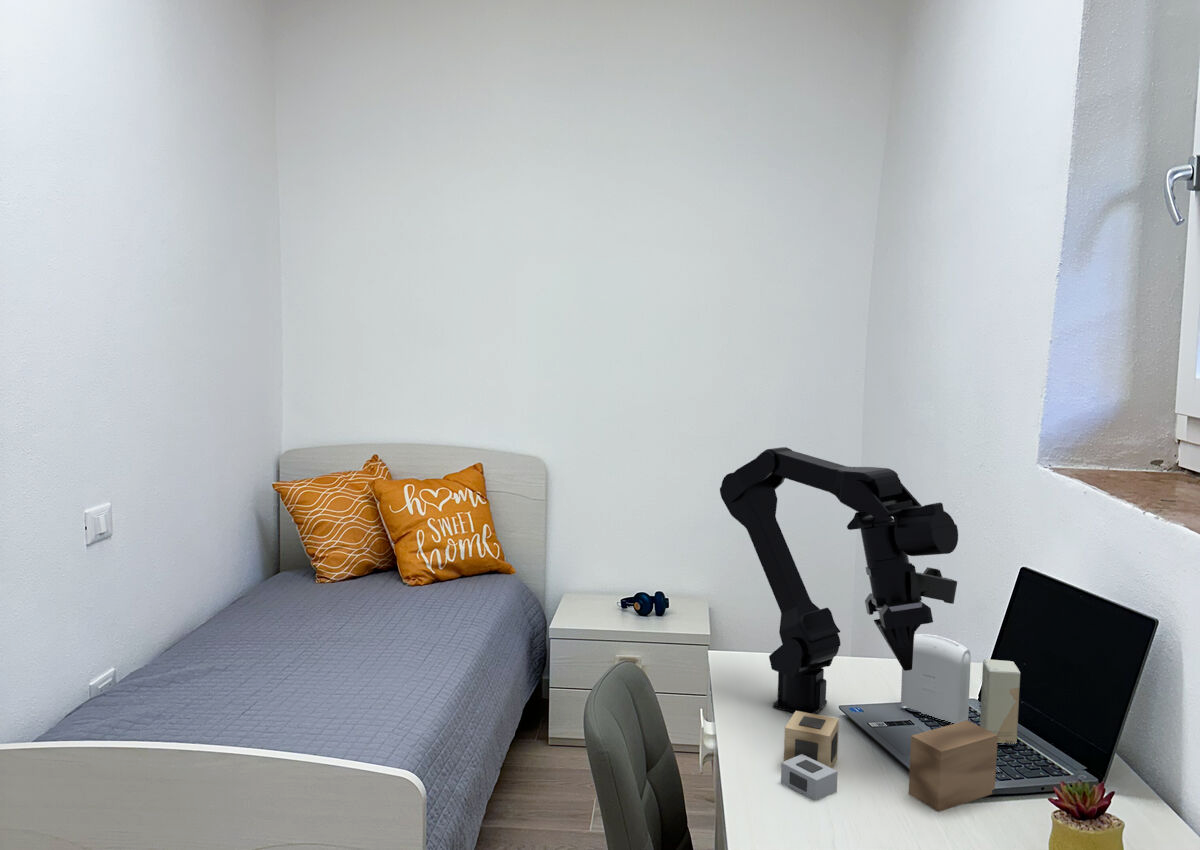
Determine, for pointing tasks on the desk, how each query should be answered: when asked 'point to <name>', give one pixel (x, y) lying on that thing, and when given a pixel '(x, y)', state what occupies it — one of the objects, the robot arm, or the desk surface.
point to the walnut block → (952, 765)
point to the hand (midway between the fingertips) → (907, 669)
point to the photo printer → (938, 679)
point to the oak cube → (812, 738)
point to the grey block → (809, 777)
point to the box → (1000, 699)
